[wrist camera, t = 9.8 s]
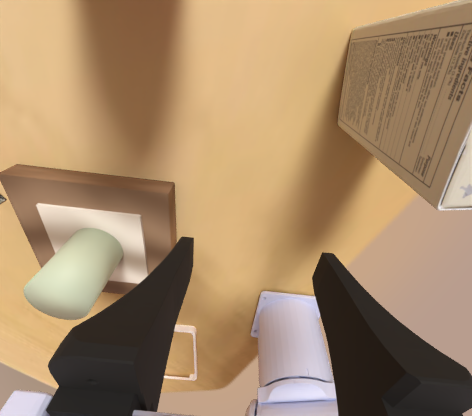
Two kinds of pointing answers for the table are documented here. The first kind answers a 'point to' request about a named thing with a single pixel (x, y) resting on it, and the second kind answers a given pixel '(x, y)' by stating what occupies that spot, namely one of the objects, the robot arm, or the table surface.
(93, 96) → the table surface
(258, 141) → the table surface
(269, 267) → the table surface
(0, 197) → the eiffel tower figurine
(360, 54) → the skincare box
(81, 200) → the walnut base
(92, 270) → the sage cylinder
